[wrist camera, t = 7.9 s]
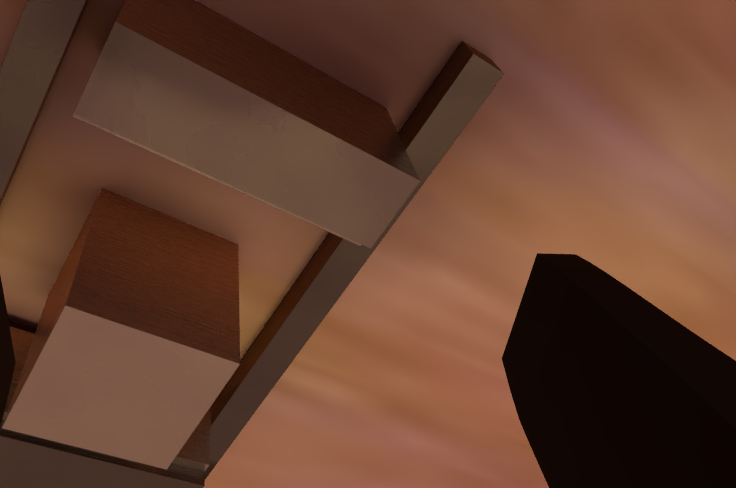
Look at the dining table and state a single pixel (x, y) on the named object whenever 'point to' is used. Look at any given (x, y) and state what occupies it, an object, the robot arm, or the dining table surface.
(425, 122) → the vise bed
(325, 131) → the block
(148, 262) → the block
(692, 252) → the dining table surface
